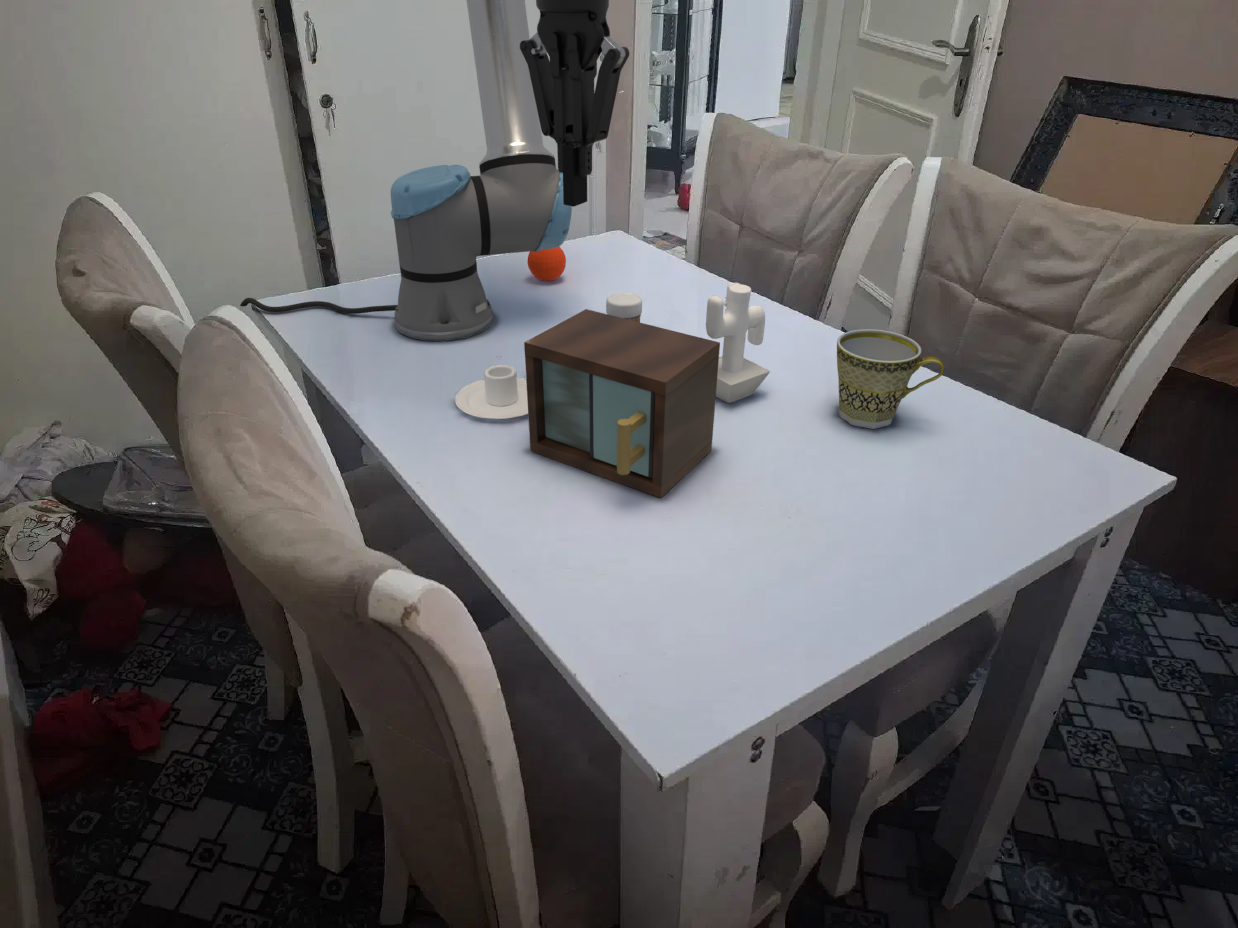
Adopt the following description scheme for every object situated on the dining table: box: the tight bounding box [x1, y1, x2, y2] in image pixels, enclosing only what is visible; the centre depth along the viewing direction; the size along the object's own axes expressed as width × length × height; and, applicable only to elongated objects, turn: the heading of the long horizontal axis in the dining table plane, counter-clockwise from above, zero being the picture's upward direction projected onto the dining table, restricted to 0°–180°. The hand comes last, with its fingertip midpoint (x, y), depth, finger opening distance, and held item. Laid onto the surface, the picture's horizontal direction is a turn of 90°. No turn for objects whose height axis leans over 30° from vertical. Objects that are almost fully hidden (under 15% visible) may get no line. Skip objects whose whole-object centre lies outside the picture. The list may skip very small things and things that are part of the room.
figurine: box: [705, 282, 771, 404], centre depth 106 cm, size 7×9×15 cm
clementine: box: [526, 246, 567, 282], centre depth 147 cm, size 8×7×7 cm
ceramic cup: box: [836, 328, 945, 430], centre depth 102 cm, size 13×10×10 cm
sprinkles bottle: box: [605, 292, 643, 323], centre depth 107 cm, size 5×5×14 cm
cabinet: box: [523, 308, 721, 499], centre depth 93 cm, size 18×12×14 cm, turn 57°
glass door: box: [589, 374, 655, 478], centre depth 87 cm, size 8×5×10 cm, turn 57°
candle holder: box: [454, 364, 528, 420], centre depth 107 cm, size 12×12×4 cm
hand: (575, 203), depth 95 cm, fingers closed
